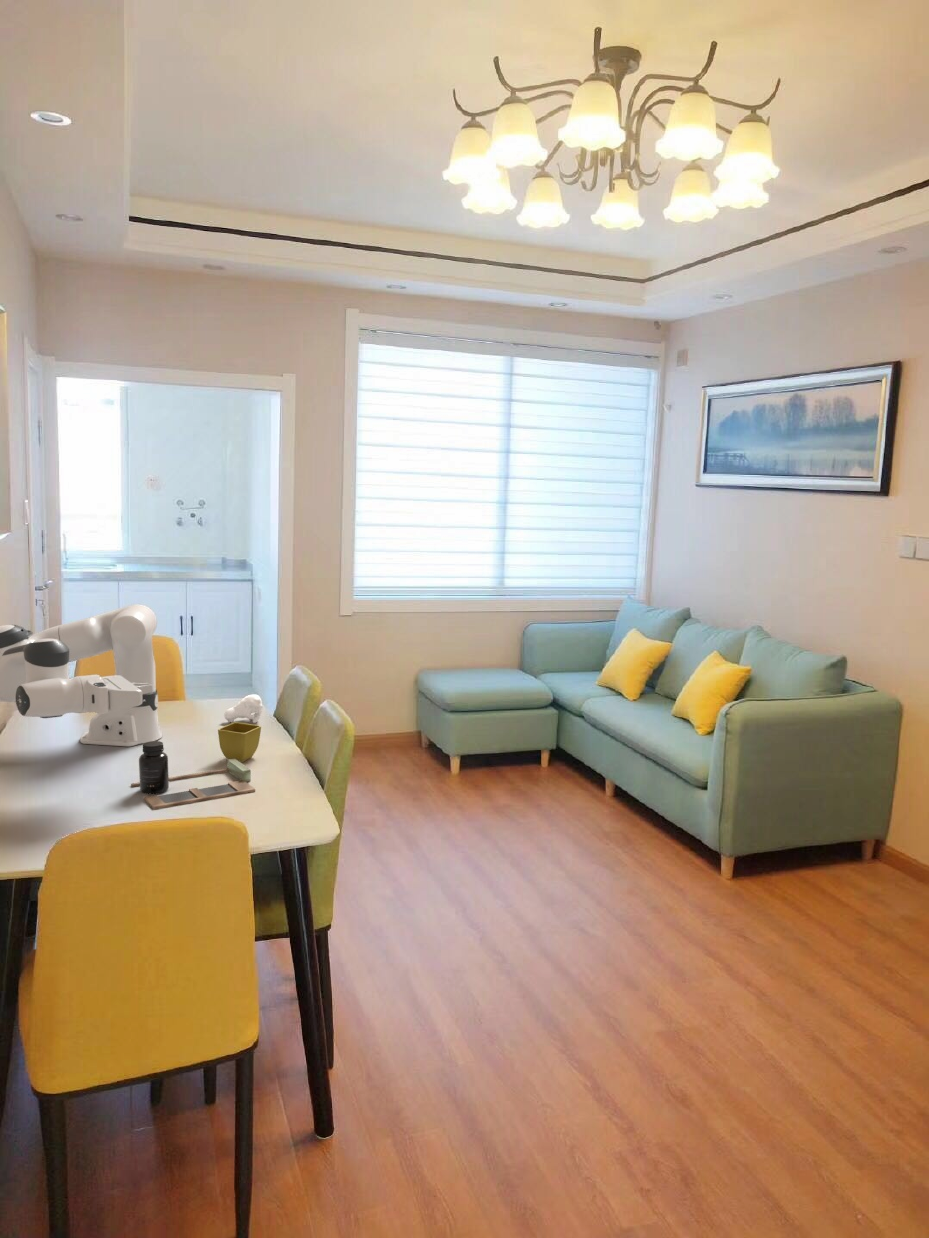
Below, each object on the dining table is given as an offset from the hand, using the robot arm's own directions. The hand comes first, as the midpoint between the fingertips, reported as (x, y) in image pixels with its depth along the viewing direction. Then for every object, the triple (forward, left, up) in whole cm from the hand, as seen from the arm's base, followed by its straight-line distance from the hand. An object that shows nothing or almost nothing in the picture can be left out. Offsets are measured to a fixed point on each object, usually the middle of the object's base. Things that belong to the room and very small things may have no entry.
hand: (150, 687), depth 227 cm
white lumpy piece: (+13, +61, -25) cm, 67 cm away
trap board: (+11, -3, -25) cm, 28 cm away
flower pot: (+18, +22, -25) cm, 38 cm away
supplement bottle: (+1, -4, -25) cm, 26 cm away
